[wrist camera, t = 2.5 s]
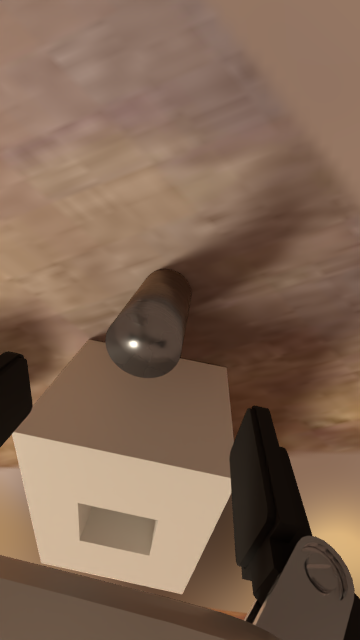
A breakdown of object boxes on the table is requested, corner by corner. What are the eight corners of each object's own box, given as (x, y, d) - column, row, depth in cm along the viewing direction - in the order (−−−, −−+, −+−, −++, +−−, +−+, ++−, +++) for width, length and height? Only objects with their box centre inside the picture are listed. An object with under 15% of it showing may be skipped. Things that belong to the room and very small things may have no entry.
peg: (144, 264, 19) (106, 305, 12) (195, 274, 19) (187, 322, 12) (140, 310, 21) (104, 369, 14) (186, 319, 21) (174, 384, 14)
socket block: (88, 339, 23) (11, 431, 14) (226, 367, 23) (237, 479, 14) (89, 458, 31) (41, 562, 22) (190, 479, 31) (182, 594, 22)
